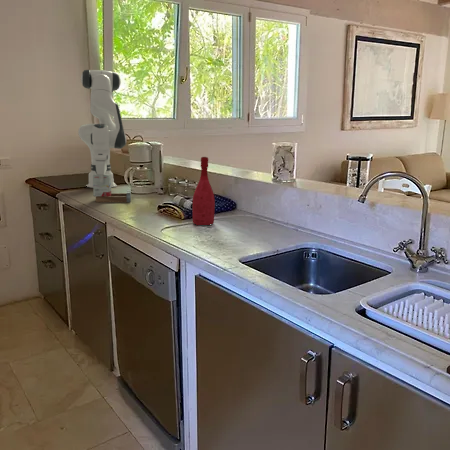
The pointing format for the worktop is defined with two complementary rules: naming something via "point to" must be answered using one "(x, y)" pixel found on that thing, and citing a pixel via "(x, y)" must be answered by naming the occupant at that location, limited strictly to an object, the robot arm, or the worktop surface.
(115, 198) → the guide channel
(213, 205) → the wine bottle
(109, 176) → the ink box
